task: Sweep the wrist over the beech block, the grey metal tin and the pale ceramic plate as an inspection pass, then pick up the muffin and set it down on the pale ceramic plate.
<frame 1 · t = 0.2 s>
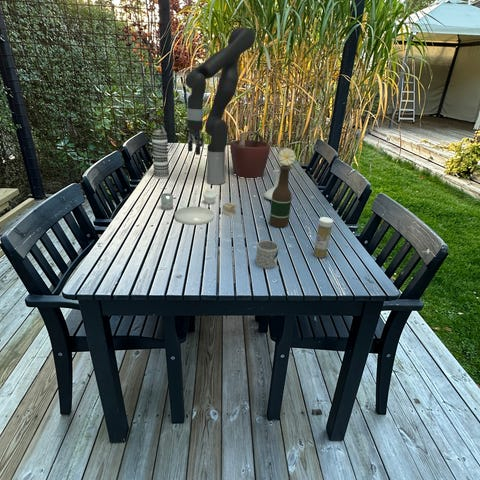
hand: (193, 152, 168), 17 cm above the table, tool pointing down, fingers open, 8 cm apart
sprinkles bottle: (319, 255, 115), on the table
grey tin: (167, 208, 146), on the table
beer bottle: (278, 224, 137), on the table
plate: (194, 217, 139), on the table
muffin: (209, 203, 155), on the table
beech block: (228, 213, 145), on the table
flower in vase: (277, 199, 165), on the table
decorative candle: (161, 176, 188), on the table
bucket: (247, 175, 200), on the table
mug: (265, 261, 110), on the table
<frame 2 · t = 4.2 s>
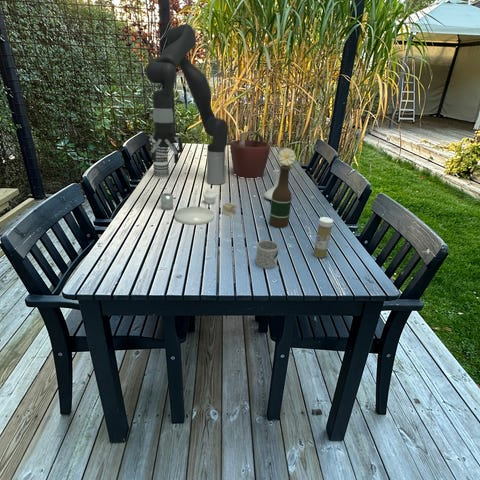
hand: (165, 162, 137), 20 cm above the table, tool pointing down, fingers open, 8 cm apart
nothing on the table moved.
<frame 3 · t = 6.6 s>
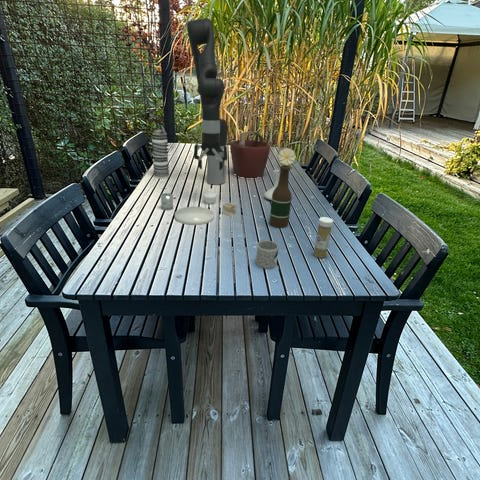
hand: (210, 169, 148), 16 cm above the table, tool pointing down, fingers open, 8 cm apart
nothing on the table moved.
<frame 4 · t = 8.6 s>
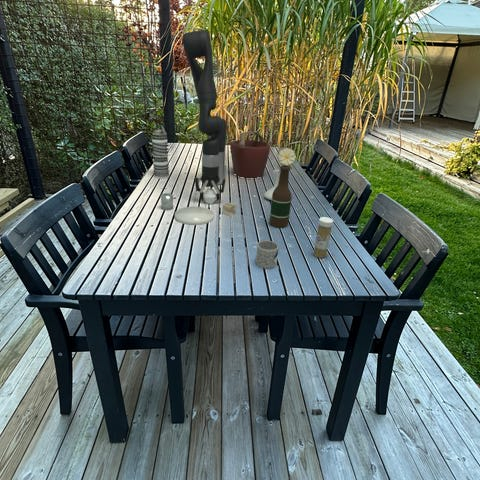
hand: (209, 200, 155), 1 cm above the table, tool pointing down, fingers closed on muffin, 6 cm apart
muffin: (209, 203, 155), on the table, touching gripper
everything else where it was.
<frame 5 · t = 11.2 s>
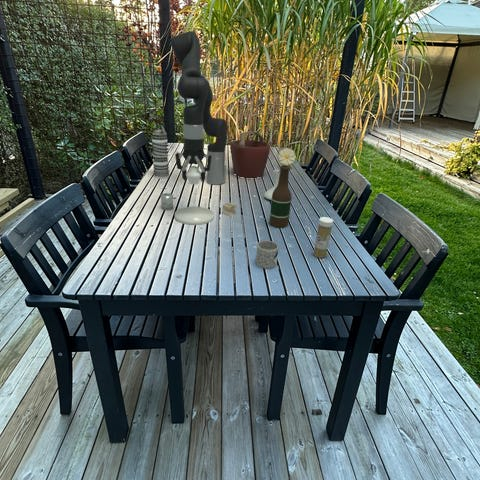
hand: (193, 180, 132), 16 cm above the table, tool pointing down, fingers closed on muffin, 6 cm apart
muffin: (193, 183, 133), point 14 cm above the table, touching gripper
everything else where it was.
when the fingers open (4 cm above the table, at t = 13.9 s): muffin drops 1 cm, resting on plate.
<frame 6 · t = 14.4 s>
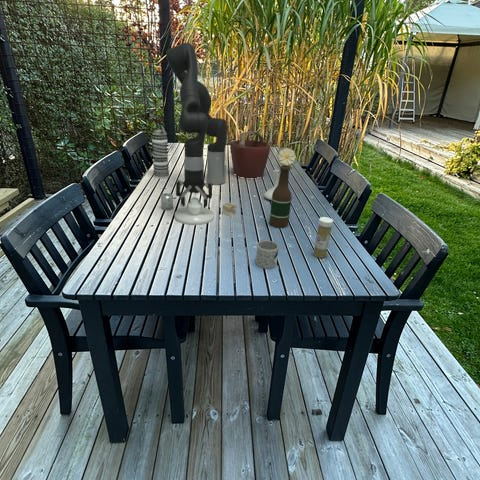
hand: (194, 206, 137), 5 cm above the table, tool pointing down, fingers open, 8 cm apart
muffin: (194, 214, 139), point 1 cm above the table, touching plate
everything else where it was.
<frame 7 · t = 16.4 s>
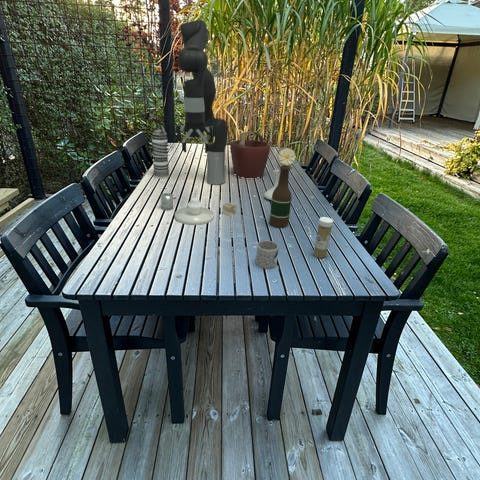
hand: (195, 152, 137), 25 cm above the table, tool pointing down, fingers open, 8 cm apart
nothing on the table moved.
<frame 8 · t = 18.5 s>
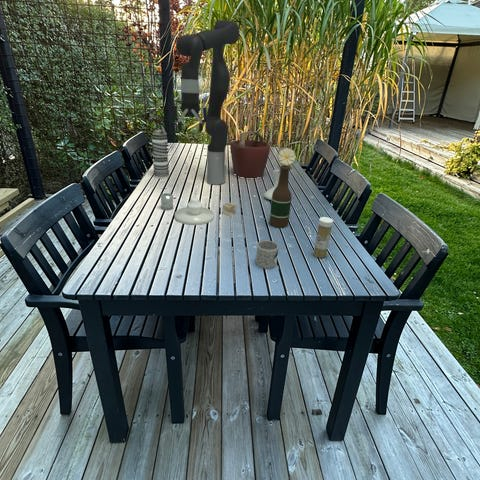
hand: (190, 131, 148), 30 cm above the table, tool pointing down, fingers open, 8 cm apart
nothing on the table moved.
at the end: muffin inside the target area on the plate (0.2 cm from its centre), point 1.3 cm above the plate's base; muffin tilted 0°; the gripper is holding nothing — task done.
